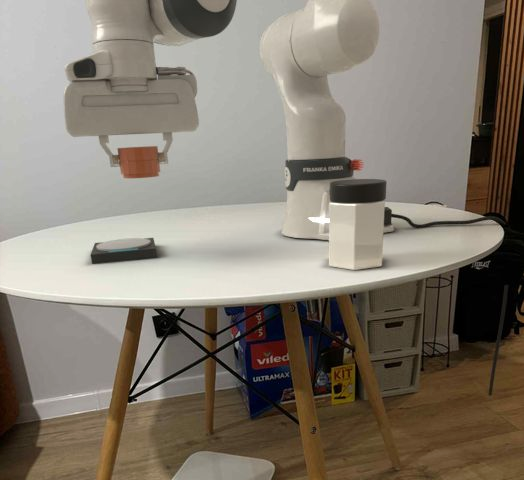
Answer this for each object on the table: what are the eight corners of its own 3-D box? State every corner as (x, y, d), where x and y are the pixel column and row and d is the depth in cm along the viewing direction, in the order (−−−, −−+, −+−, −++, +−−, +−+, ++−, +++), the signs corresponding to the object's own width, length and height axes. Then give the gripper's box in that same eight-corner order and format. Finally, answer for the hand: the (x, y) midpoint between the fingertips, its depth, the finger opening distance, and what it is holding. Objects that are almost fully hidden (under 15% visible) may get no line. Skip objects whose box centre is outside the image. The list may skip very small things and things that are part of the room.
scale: (154, 245, 98) (153, 235, 97) (156, 257, 88) (155, 246, 87) (96, 251, 96) (94, 240, 95) (92, 263, 86) (89, 252, 85)
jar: (368, 254, 82) (371, 177, 77) (395, 265, 75) (400, 181, 70) (318, 261, 80) (318, 181, 75) (340, 272, 72) (341, 185, 68)
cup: (159, 174, 85) (156, 146, 83) (161, 176, 79) (158, 146, 77) (121, 176, 83) (117, 147, 82) (121, 179, 78) (117, 148, 76)
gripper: (192, 69, 80) (200, 161, 86) (58, 71, 76) (75, 168, 81) (197, 63, 75) (206, 162, 80) (53, 66, 70) (72, 170, 76)
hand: (139, 165), depth 81 cm, fingers closed on cup, 6 cm apart
